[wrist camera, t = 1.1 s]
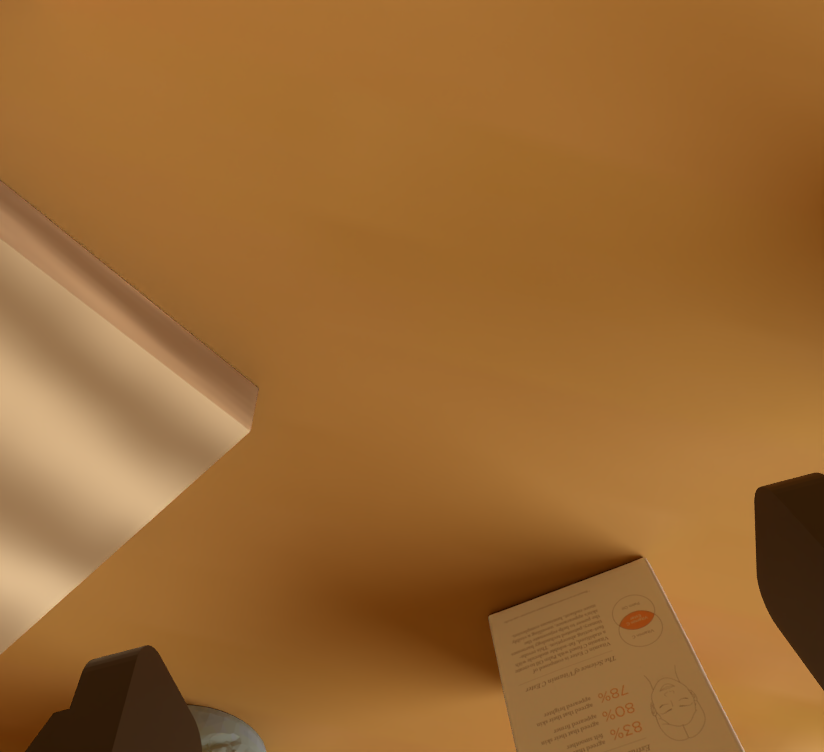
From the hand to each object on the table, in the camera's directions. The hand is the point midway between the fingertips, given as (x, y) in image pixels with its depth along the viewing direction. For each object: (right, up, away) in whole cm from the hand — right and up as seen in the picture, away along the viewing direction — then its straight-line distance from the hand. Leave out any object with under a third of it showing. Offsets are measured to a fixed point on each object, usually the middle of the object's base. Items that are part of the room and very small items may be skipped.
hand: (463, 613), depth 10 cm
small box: (+8, -9, +27) cm, 30 cm away
